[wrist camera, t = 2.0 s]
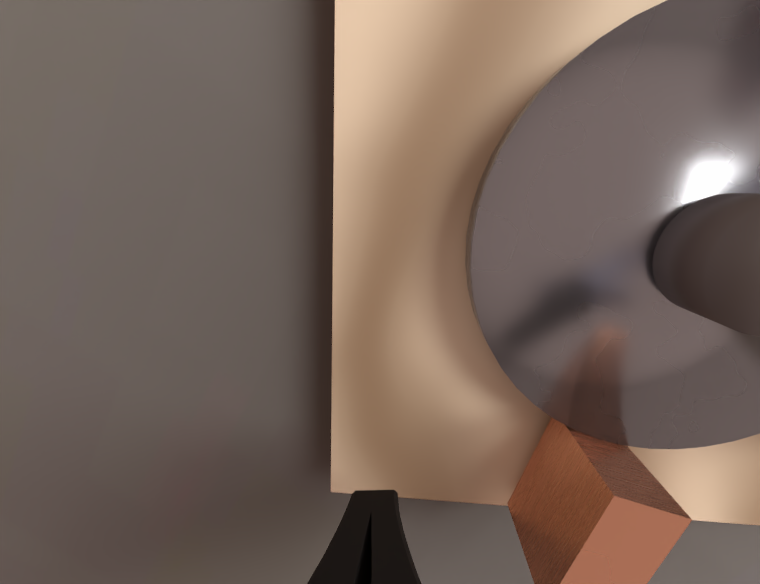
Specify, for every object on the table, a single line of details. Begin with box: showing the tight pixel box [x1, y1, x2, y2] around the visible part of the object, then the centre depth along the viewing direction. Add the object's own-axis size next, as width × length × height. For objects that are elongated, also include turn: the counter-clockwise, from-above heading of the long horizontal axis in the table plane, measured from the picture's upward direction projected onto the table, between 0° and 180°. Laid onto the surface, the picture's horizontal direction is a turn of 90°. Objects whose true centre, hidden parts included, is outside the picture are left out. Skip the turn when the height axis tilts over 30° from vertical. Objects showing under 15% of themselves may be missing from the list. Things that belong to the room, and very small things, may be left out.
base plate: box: [331, 0, 760, 525], centre depth 10 cm, size 20×20×5 cm
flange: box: [465, 0, 760, 584], centre depth 9 cm, size 16×12×4 cm
